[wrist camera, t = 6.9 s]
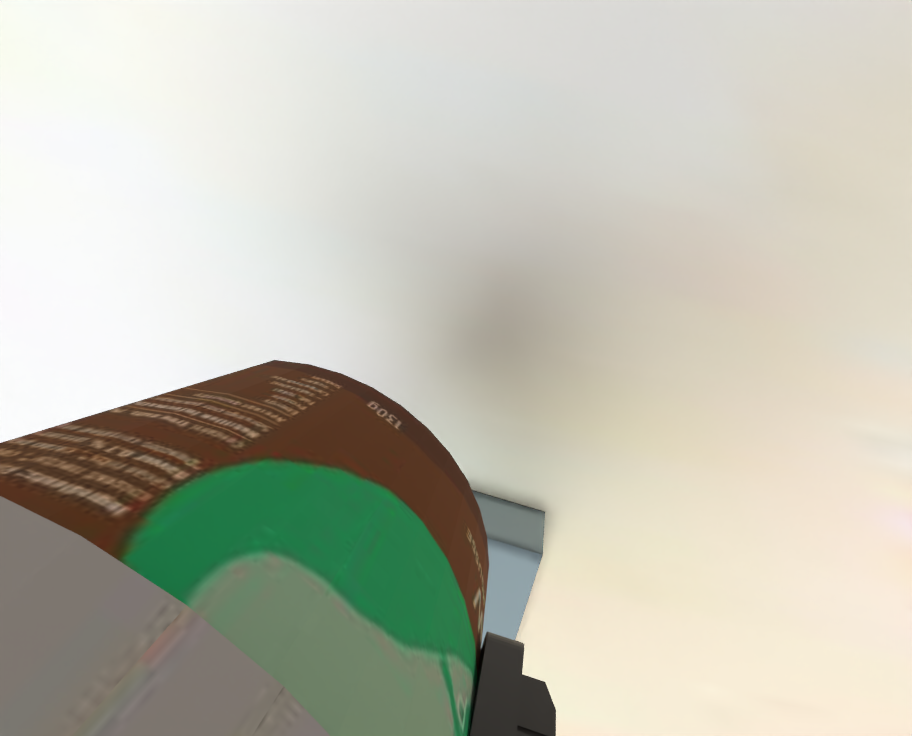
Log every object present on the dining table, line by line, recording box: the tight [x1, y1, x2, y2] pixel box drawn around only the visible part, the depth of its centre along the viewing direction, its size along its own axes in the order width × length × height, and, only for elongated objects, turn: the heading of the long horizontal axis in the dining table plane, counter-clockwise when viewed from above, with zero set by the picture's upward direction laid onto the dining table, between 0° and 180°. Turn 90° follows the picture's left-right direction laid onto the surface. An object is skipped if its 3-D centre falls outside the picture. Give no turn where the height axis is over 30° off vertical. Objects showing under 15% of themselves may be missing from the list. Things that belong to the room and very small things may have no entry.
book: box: [472, 491, 545, 648], centre depth 33 cm, size 20×15×4 cm
